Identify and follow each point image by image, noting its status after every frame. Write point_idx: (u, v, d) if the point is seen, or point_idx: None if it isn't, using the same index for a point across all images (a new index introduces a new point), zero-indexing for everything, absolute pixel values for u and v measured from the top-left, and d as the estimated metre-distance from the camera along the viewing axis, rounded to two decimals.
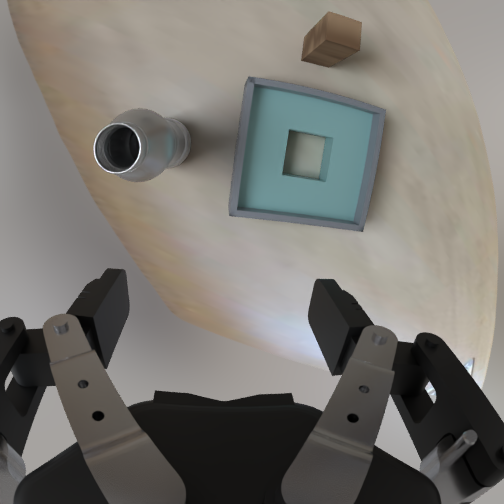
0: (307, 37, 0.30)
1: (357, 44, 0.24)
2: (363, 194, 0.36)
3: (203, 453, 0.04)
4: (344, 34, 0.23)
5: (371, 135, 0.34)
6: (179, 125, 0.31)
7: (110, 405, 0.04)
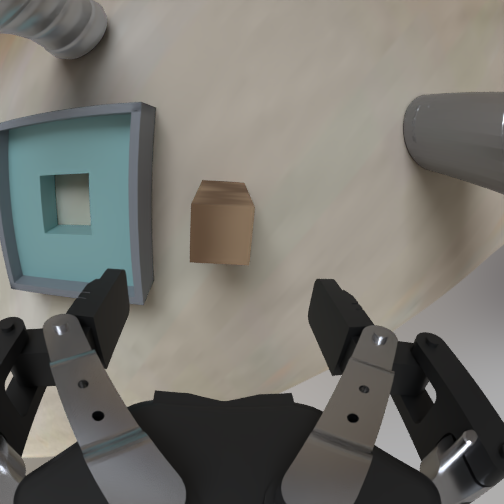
0: (237, 185, 0.26)
1: (200, 258, 0.19)
2: (44, 283, 0.25)
3: (203, 453, 0.04)
4: (213, 236, 0.19)
5: None
6: (83, 35, 0.16)
7: (110, 405, 0.04)
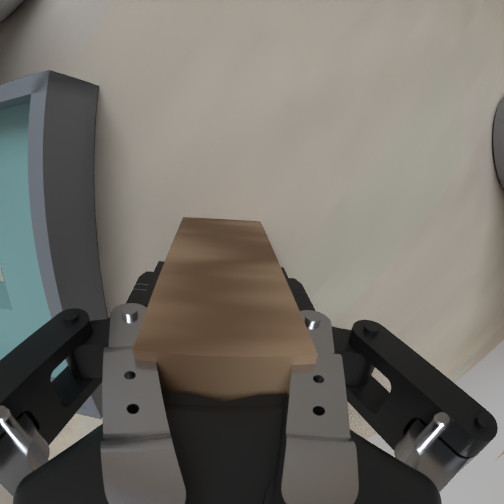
0: (249, 231, 0.13)
1: None
2: None
3: (203, 453, 0.04)
4: None
5: None
6: None
7: (149, 402, 0.05)
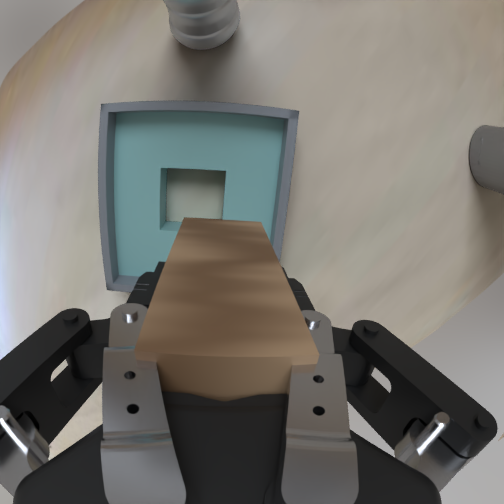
0: (249, 232, 0.13)
1: None
2: None
3: (203, 453, 0.04)
4: None
5: None
6: (226, 29, 0.19)
7: (149, 402, 0.05)
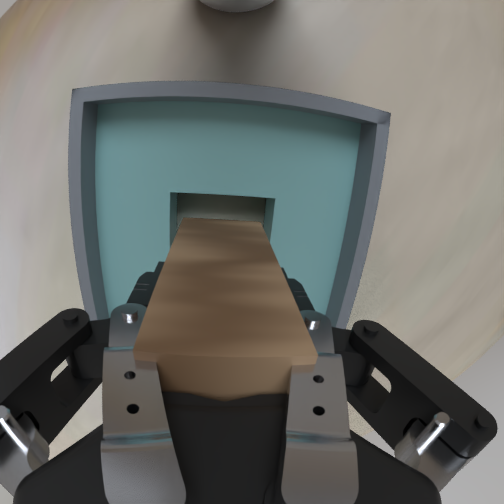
0: (249, 232, 0.13)
1: None
2: None
3: (203, 453, 0.04)
4: None
5: None
6: None
7: (149, 402, 0.05)
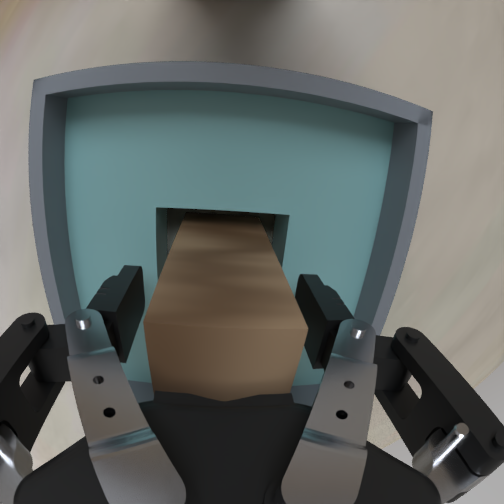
0: (247, 225, 0.14)
1: None
2: None
3: (203, 453, 0.04)
4: (205, 384, 0.07)
5: None
6: None
7: (123, 403, 0.04)
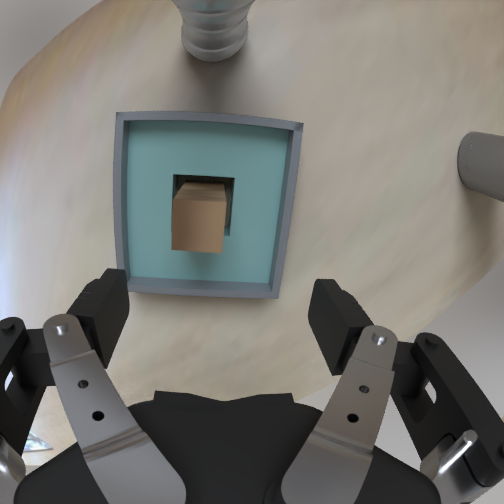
0: (216, 184, 0.29)
1: (180, 246, 0.22)
2: (165, 283, 0.30)
3: (203, 453, 0.04)
4: (191, 227, 0.22)
5: (240, 284, 0.31)
6: (237, 43, 0.21)
7: (110, 405, 0.04)
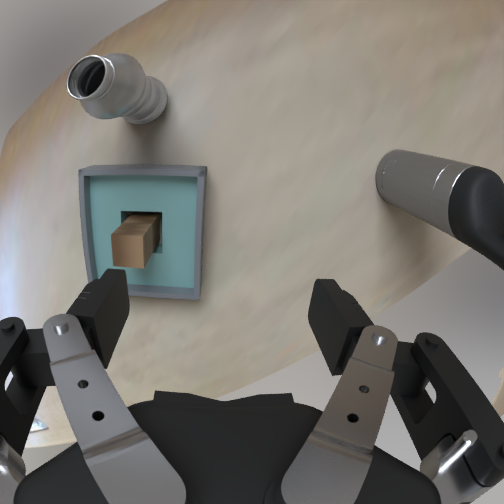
0: (152, 216, 0.39)
1: (118, 264, 0.32)
2: None
3: (204, 453, 0.04)
4: (123, 252, 0.32)
5: (173, 288, 0.41)
6: (155, 112, 0.31)
7: (110, 405, 0.04)
